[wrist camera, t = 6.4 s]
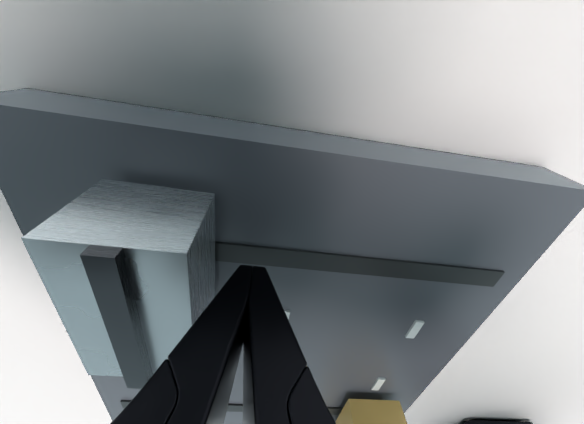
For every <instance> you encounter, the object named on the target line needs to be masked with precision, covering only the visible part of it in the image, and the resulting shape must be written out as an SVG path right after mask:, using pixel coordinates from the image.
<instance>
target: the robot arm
mask: <svg viewBox="0 0 584 424" xmlns="http://www.w3.org/2000/svg"><path fill="white" fill-rule="evenodd" d="M242 347H243V424H336V422H335V421H334V419H333V417H332V415H331V413H330V411H329V409H328V407H327V406H326V404H325V402H324V399H323V397H322V395H321V393H320V391H319V389H318V387H317V384H316V382H315V380H314V378H313V375H312V373H311V371H310V368H309V367H308V366H307V362H306V360H305V357H304V355H303V353H302V350H301V348H300V346H299V343H298V341H297V339H296V336H295V334H294V332H293V329H292V327H291V325H290V323H289V320H288V318H287V316H286V313H285V311H284V309H283V306H282V304H281V302H280V299H279V297H278V295H277V292H276V290H275V288H274V286H273V283H272V281H271V279H270V276H269V274H268V272H267V269H266V268H265V267H262V266H251V265H240V266H239V267H238V268H237V269H236V270H235V272H234V273H233V274H232V275H231V277H230V278H229V279H228V280H227V282H226V283H225V284H224V286H223V287H222V288H221V289H220V291H219V292H218V293H217V294H216V296H215V297H214V298H213V300H212V301H211V302H210V303H209V305H208V306H207V307H206V308H205V310H204V311H203V312H202V313H201V315H200V316H199V317H198V319H197V320H196V321H195V322H194V324H193V325H192V326H191V327H190V329H189V330H188V331H187V333H186V334H185V335H184V336H183V338H182V339H181V340H180V341H179V343H178V344H177V345H176V346H175V348H174V349H173V350H172V352H171V353H170V354H169V355H168V359H165V360H164V361H163V363H162V364H161V365H160V367H159V368H158V369H157V370H156V372H155V373H154V374H153V375H152V377H151V378H150V379H149V380H148V381H147V383H146V384H145V385H144V386H143V387H142V389H141V390H140V391H139V392H138V393H137V395H136V396H135V397H134V398H133V399H132V400H131V401H130V402H129V404H128V405H127V406H126V407H125V408H124V409H123V410H122V411H121V412H120V413H119V415H118V416H117V417H116V418H115V419H114V420H113V421H112V422H111V423H110V424H224V420H225V416H226V412H227V408H228V404H229V399H230V395H231V391H232V387H233V383H234V379H235V375H236V371H237V367H238V363H239V359H240V355H241V351H242ZM463 424H533V423H532V422H508V421H476V420H470V421H466V422H464V423H463Z"/></svg>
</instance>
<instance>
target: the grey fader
mask: <svg viewBox="0 0 584 424" xmlns="http://www.w3.org/2000/svg"><path fill="white" fill-rule="evenodd" d="M21 239H22V241H23V243H24V245H25V247H26V249H27V251H28V253H29V255H30V257H31V259H32V261H33V263H34V265H35V267H36V269H37V271H38V273H39V275H40V277H41V279H42V281H43V283H44V285H45V287H46V290H47V292H48V294H49V296H50V298H51V300H52V302H53V304H54V306H55V308H56V310H57V312H58V314H59V316H60V318H61V320H62V322H63V324H64V326H65V328H66V330H67V332H68V334H69V336H70V338H71V341H72V343H73V345H74V347H75V349H76V351H77V353H78V355H79V357H80V359H81V361H82V363H83V365H84V367H85V369H86V371H87V373H88V375H100V376H122V377H123V378H124V381H125V383H126V386H127V388H132V389H142V387H143V386H144V385H145V384H146V383H147V381H148V380H149V379H150V378H151V377H152V375H153V374H154V373H155V372H156V370H157V369H158V368H159V367H160V365H161V364H162V363H163V361H164V360H165V359H168V355H169V354H170V353H171V352H172V350H173V349H174V348H175V346H176V345H177V344H178V343H179V341H180V340H181V339H182V338H183V336H184V335H185V334H186V333H187V331H188V330H189V329H190V327H191V326H192V325H193V324H194V322H195V321H196V320H197V319H198V317H199V316H200V315H201V313H202V312H203V311H204V310H205V308H206V307H207V306H208V305H209V303H210V302H211V301H212V300H213V298H214V297H215V193H213V192H205V191H196V190H188V189H180V188H172V187H164V186H155V185H147V184H139V183H131V182H123V181H114V180H106V179H102V180H101V181H99V182H98V183H97V184H95V185H94V186H92V187H91V188H90V189H88V190H87V191H85V192H84V193H83V194H81V195H80V196H79V197H77V198H76V199H74V200H73V201H72V202H70V203H69V204H67V205H66V206H65V207H63V208H62V209H61V210H59V211H58V212H56V213H55V214H54V215H52V216H51V217H49V218H48V219H47V220H45V221H44V222H42V223H41V224H40V225H38V226H37V227H36V228H34V229H33V230H31V231H30V232H29V233H27V234H26V235H24V236H23V237H22V238H21Z"/></svg>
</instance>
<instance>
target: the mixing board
mask: <svg viewBox="0 0 584 424" xmlns="http://www.w3.org/2000/svg"><path fill="white" fill-rule="evenodd" d="M102 179H106V180H114V181H123V182H131V183H139V184H147V185H155V186H164V187H172V188H180V189H188V190H196V191H205V192H213V193H215V296H216V294H217V293H218V292H219V291H220V289H221V288H222V287H223V286H224V284H225V283H226V282H227V280H228V279H229V278H230V277H231V275H232V274H233V273H234V272H235V270H236V269H237V268H238V267H239V266H240V265H251V266H262V267H265V268H266V269H267V272H268V274H269V276H270V279H271V281H272V283H273V286H274V288H275V290H276V292H277V295H278V297H279V299H280V302H281V304H282V306H283V309H284V311H285V313H286V316H287V318H288V320H289V323H290V325H291V327H292V329H293V332H294V334H295V336H296V339H297V341H298V343H299V346H300V348H301V350H302V353H303V355H304V357H305V360H306V362H307V366H308V367H309V368H310V371H311V373H312V375H313V378H314V380H315V382H316V384H317V387H318V389H319V391H320V393H321V395H322V397H323V399H324V402H325V404H326V406H327V407H328V409H329V411H330V413H331V415H332V417H333V419H334V421H336V420H337V418H338V416H339V414H340V413H341V411H342V409H343V407H344V406H345V404H346V402H347V401H348V399H370V400H395V401H400V404H401V407H402V410H403V413H405V411H406V410H407V409H408V408H409V407H410V406H411V405H412V403H413V402H414V401H415V400H416V399H417V398H418V396H419V395H420V394H421V393H422V392H423V391H424V390H425V388H426V387H427V386H428V385H429V384H430V383H431V382H432V380H433V379H434V378H435V377H436V376H437V375H438V374H439V372H440V371H441V370H442V369H443V368H444V367H445V366H446V364H447V363H448V362H449V361H450V360H451V359H452V358H453V356H454V355H455V354H456V353H457V352H458V351H459V349H460V348H461V347H462V346H463V345H464V344H465V343H466V341H467V340H468V339H469V338H470V337H471V336H472V335H473V333H474V332H475V331H476V330H477V329H478V328H479V327H480V325H481V324H482V323H483V322H484V321H485V320H486V319H487V317H488V316H489V315H490V314H491V313H492V312H493V310H494V309H495V308H496V307H497V306H498V305H499V304H500V302H501V301H502V300H503V299H504V298H505V297H506V296H507V294H508V293H509V292H510V291H511V290H512V289H513V288H514V286H515V285H516V284H517V283H518V282H519V281H520V280H521V278H522V277H523V276H524V275H525V274H526V273H527V272H528V270H529V269H530V268H531V267H532V266H533V265H534V263H535V262H536V261H537V260H538V259H539V258H540V257H541V255H542V254H543V253H544V252H545V251H546V250H547V249H548V247H549V246H550V245H551V244H552V243H553V242H554V241H555V239H556V238H557V237H558V236H559V235H560V234H561V233H562V231H563V230H564V229H565V228H566V227H567V226H568V224H569V223H570V222H571V221H572V220H573V219H574V218H575V216H576V215H577V214H578V213H579V212H580V211H581V210H582V208H583V207H584V185H582V184H579V183H577V182H575V181H573V180H570V179H568V178H566V177H564V176H562V175H559V174H557V173H555V172H553V171H551V170H548V169H546V168H544V167H538V166H532V165H525V164H519V163H512V162H505V161H499V160H492V159H486V158H479V157H473V156H466V155H460V154H453V153H447V152H440V151H434V150H427V149H421V148H414V147H408V146H401V145H394V144H388V143H381V142H375V141H368V140H362V139H355V138H349V137H342V136H336V135H329V134H323V133H316V132H310V131H303V130H297V129H290V128H283V127H277V126H270V125H264V124H257V123H251V122H244V121H238V120H231V119H225V118H218V117H212V116H205V115H199V114H192V113H186V112H179V111H172V110H166V109H159V108H153V107H146V106H140V105H133V104H127V103H120V102H114V101H107V100H101V99H94V98H88V97H81V96H75V95H68V94H61V93H55V92H48V91H42V90H35V89H29V88H24V89H17V90H11V91H4V92H0V188H1V190H2V192H3V195H4V197H5V199H6V201H7V203H8V205H9V207H10V209H11V211H12V213H13V215H14V217H15V219H16V221H17V224H18V226H19V228H20V230H21V232H22V234H23V236H24V235H26V234H27V233H29V232H30V231H31V230H33V229H34V228H36V227H37V226H38V225H40V224H41V223H42V222H44V221H45V220H47V219H48V218H49V217H51V216H52V215H54V214H55V213H56V212H58V211H59V210H61V209H62V208H63V207H65V206H66V205H67V204H69V203H70V202H72V201H73V200H74V199H76V198H77V197H79V196H80V195H81V194H83V193H84V192H85V191H87V190H88V189H90V188H91V187H92V186H94V185H95V184H97V183H98V182H99V181H101V180H102ZM91 377H92V379H93V381H94V383H95V385H96V387H97V390H98V392H99V394H100V396H101V398H102V400H103V402H104V404H105V406H106V408H107V410H108V412H109V414H110V416H111V419H112V421H113V420H114V419H115V418H116V417H117V416H118V415H119V413H120V412H121V411H122V410H123V409H124V408H125V407H126V406H127V405H128V404H129V402H130V401H131V400H132V399H133V398H134V397H135V396H136V395H137V393H138V392H139V391H140V390H141V389H132V388H127V386H126V383H125V381H124V378H123V377H122V376H100V375H91ZM224 424H243V347H242V351H241V355H240V359H239V363H238V367H237V371H236V375H235V379H234V383H233V387H232V391H231V395H230V399H229V404H228V408H227V412H226V416H225V420H224Z"/></svg>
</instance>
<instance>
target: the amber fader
mask: <svg viewBox="0 0 584 424" xmlns="http://www.w3.org/2000/svg"><path fill="white" fill-rule="evenodd" d="M335 422H336V424H407V422H406V419H405V416H404V413H403V410H402V407H401V404H400V401H395V400H370V399H348V401H347V402H346V404H345V406H344V407H343V409H342V411H341V413H340V414H339V416H338V418H337V420H336V421H335Z"/></svg>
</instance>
